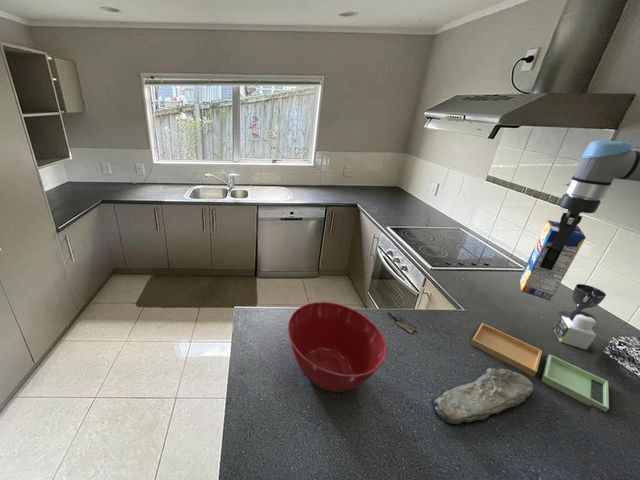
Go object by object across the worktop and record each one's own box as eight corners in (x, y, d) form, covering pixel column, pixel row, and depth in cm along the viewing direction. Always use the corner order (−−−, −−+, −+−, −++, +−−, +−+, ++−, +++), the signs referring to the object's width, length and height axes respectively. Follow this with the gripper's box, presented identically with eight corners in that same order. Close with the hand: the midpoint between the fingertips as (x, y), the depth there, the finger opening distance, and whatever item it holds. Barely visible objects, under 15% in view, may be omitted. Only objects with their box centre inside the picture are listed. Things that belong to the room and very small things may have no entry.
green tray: (604, 386, 87) (608, 381, 86) (604, 414, 79) (609, 408, 78) (546, 359, 96) (549, 354, 95) (541, 381, 88) (544, 375, 87)
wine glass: (590, 324, 113) (610, 294, 107) (580, 329, 110) (600, 298, 104) (564, 311, 120) (582, 282, 114) (554, 315, 117) (571, 286, 111)
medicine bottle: (553, 330, 109) (567, 305, 104) (578, 337, 106) (594, 312, 101) (559, 342, 103) (575, 316, 99) (586, 350, 100) (604, 324, 95)
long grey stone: (421, 402, 81) (452, 439, 73) (426, 391, 79) (459, 428, 71) (505, 368, 91) (541, 397, 83) (512, 357, 89) (549, 386, 80)
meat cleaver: (406, 334, 104) (417, 332, 106) (407, 332, 104) (418, 330, 105) (385, 313, 114) (394, 311, 116) (385, 310, 114) (395, 309, 115)
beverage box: (521, 291, 91) (552, 230, 82) (519, 277, 99) (547, 220, 90) (550, 300, 87) (585, 237, 78) (546, 285, 95) (578, 226, 86)
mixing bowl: (382, 357, 94) (392, 322, 88) (365, 436, 71) (378, 395, 65) (303, 324, 107) (307, 291, 101) (268, 382, 84) (271, 344, 78)
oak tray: (539, 355, 97) (542, 350, 96) (533, 377, 89) (536, 371, 88) (480, 327, 109) (482, 322, 108) (470, 344, 101) (472, 339, 100)
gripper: (567, 187, 90) (537, 247, 98) (559, 200, 76) (525, 269, 84) (602, 193, 85) (568, 256, 93) (601, 208, 70) (560, 280, 79)
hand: (547, 262), depth 89 cm, fingers closed on beverage box, 11 cm apart
